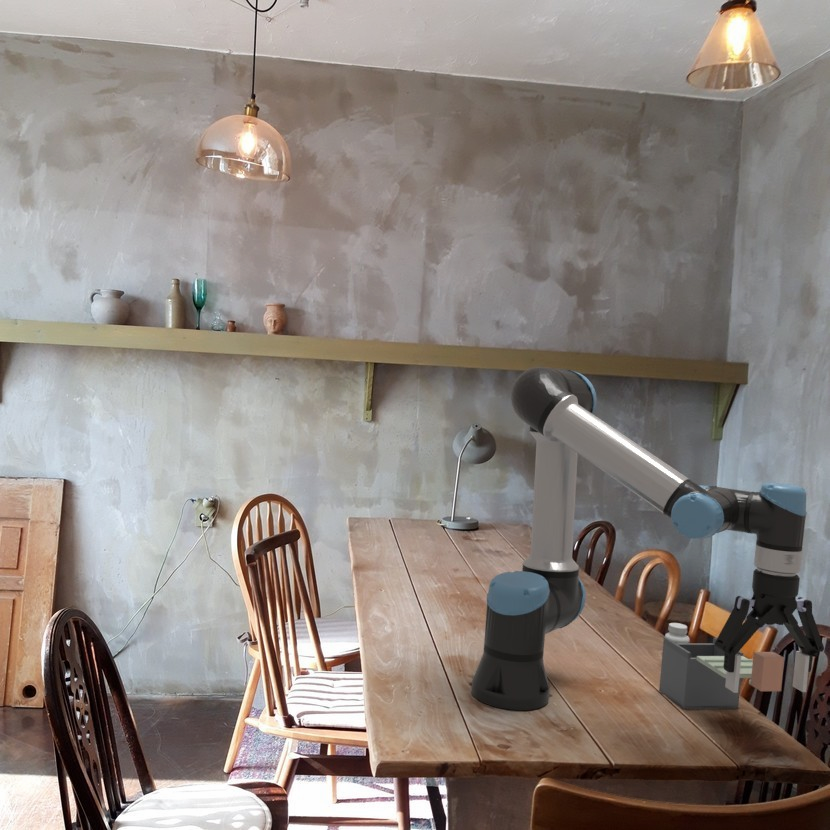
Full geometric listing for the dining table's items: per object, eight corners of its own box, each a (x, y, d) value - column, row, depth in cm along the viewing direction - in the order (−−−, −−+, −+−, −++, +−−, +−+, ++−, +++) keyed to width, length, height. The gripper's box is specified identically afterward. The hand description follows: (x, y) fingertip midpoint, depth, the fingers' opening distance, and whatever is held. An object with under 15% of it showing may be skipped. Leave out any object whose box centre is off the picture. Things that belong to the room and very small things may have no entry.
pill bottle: (658, 663, 188) (662, 621, 188) (681, 664, 189) (684, 622, 189) (667, 671, 183) (671, 628, 183) (691, 672, 184) (695, 629, 183)
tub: (683, 709, 161) (688, 652, 161) (659, 690, 171) (663, 637, 170) (738, 708, 164) (743, 653, 164) (711, 690, 173) (716, 637, 173)
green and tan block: (745, 691, 144) (748, 657, 144) (696, 660, 160) (699, 629, 160) (796, 691, 147) (799, 657, 146) (742, 660, 162) (745, 629, 162)
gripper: (725, 575, 140) (714, 698, 141) (853, 578, 145) (841, 697, 146) (701, 564, 147) (690, 682, 148) (823, 568, 152) (812, 681, 153)
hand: (765, 689), depth 147 cm, fingers open, 13 cm apart
